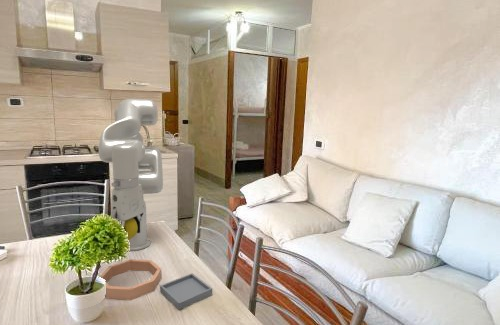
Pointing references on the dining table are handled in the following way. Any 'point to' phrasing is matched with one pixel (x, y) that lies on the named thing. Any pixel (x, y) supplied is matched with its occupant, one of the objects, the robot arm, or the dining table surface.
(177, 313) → the dining table surface
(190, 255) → the dining table surface
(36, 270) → the dining table surface
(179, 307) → the tray
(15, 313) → the dining table surface
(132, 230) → the lemon
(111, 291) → the collar
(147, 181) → the robot arm
